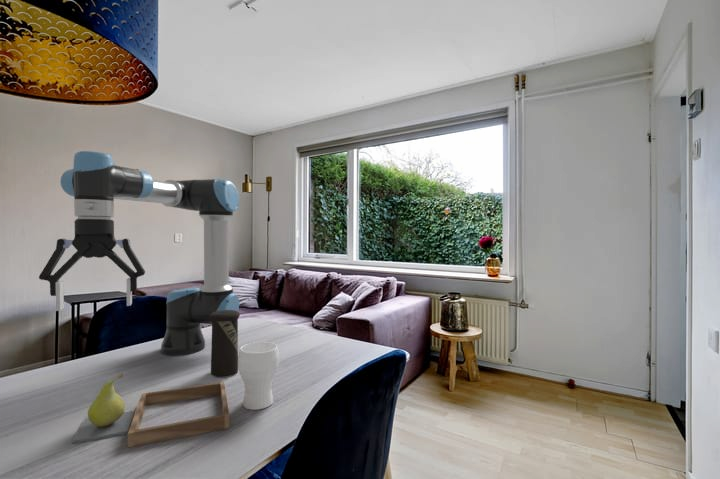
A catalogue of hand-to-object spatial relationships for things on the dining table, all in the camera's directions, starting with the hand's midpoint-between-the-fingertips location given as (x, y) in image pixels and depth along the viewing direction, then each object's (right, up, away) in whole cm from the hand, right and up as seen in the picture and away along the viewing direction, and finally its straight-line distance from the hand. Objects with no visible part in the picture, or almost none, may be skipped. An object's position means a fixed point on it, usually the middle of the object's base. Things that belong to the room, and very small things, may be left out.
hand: (95, 307), depth 86 cm
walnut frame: (+20, -27, +2) cm, 34 cm away
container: (+20, -27, +30) cm, 45 cm away
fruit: (+5, -27, -3) cm, 27 cm away
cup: (+36, -28, +10) cm, 47 cm away
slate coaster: (+5, -27, -3) cm, 28 cm away
